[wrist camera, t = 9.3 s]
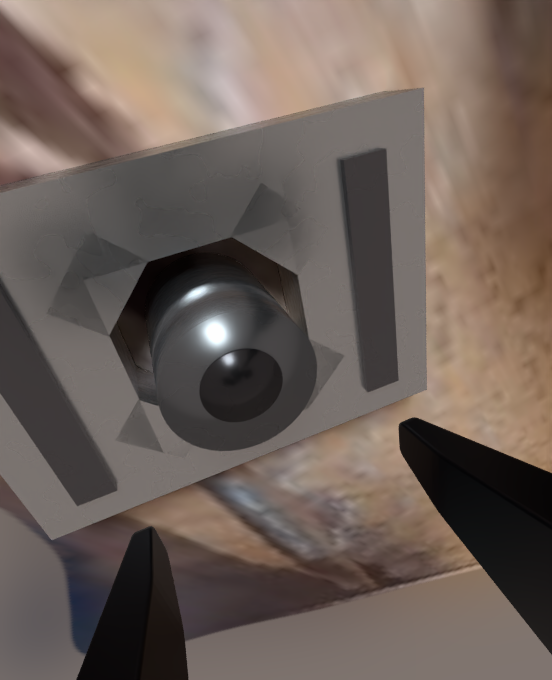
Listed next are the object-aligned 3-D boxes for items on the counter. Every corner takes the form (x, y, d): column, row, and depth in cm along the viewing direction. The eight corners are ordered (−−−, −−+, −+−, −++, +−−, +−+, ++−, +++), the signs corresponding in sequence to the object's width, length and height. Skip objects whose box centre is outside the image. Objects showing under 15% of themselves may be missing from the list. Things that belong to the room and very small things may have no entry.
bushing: (248, 237, 17) (304, 288, 12) (272, 340, 20) (327, 418, 15) (125, 274, 16) (131, 346, 11) (167, 377, 19) (187, 474, 14)
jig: (383, 91, 16) (429, 86, 14) (398, 364, 23) (430, 392, 21) (-136, 219, 13) (-191, 241, 11) (58, 494, 20) (50, 546, 17)
